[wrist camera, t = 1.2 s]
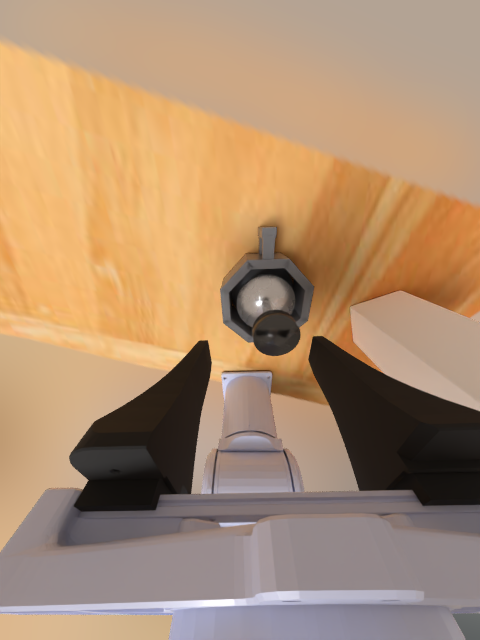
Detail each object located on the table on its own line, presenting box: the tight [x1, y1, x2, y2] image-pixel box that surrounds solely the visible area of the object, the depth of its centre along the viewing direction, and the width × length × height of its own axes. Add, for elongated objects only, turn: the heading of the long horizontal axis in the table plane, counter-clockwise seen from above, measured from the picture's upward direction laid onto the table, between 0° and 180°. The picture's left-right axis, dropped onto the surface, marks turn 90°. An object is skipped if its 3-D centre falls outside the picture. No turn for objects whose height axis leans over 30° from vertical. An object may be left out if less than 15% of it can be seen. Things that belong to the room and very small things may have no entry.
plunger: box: [237, 274, 300, 356], centre depth 15 cm, size 6×6×6 cm
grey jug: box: [220, 227, 314, 342], centre depth 18 cm, size 12×9×4 cm
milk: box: [350, 290, 480, 411], centre depth 13 cm, size 6×6×22 cm
